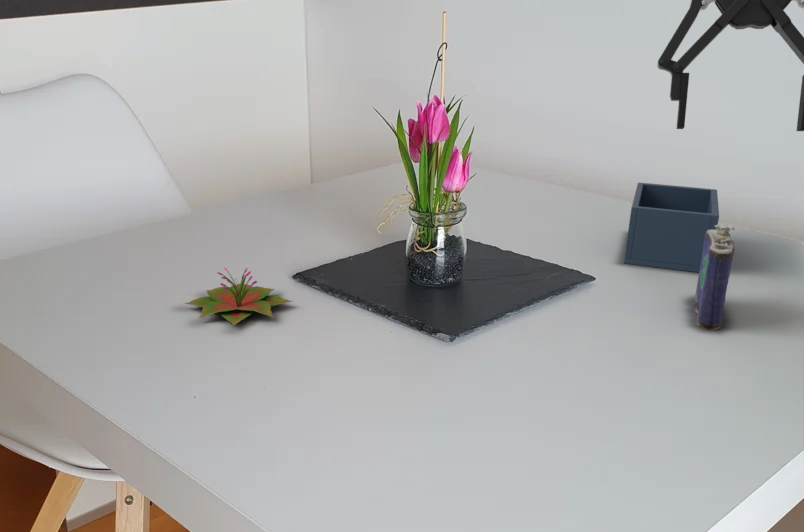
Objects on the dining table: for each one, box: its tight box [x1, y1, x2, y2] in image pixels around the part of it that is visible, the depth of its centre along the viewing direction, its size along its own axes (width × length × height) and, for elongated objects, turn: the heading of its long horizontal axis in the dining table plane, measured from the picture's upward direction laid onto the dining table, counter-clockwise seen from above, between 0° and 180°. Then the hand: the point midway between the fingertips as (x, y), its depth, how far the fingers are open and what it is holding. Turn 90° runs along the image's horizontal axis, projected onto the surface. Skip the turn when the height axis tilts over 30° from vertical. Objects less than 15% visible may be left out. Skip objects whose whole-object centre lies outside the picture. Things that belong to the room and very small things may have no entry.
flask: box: [693, 224, 736, 331], centre depth 94 cm, size 9×3×11 cm, turn 162°
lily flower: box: [183, 267, 293, 326], centre depth 96 cm, size 12×12×5 cm
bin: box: [623, 182, 720, 273], centre depth 114 cm, size 11×14×8 cm
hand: (740, 129), depth 102 cm, fingers open, 13 cm apart
